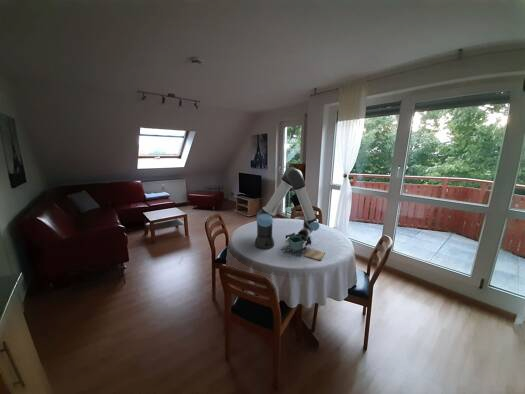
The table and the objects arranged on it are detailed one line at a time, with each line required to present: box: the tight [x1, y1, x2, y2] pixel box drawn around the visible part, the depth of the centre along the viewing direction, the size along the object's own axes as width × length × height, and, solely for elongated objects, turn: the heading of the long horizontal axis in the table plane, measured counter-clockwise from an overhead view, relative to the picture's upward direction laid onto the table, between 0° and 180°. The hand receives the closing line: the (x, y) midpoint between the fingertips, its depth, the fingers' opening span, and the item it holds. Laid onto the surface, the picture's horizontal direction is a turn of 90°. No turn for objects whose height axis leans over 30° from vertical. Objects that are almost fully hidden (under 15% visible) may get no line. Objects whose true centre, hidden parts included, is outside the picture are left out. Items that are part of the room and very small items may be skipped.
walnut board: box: [303, 247, 326, 262], centre depth 149 cm, size 12×12×1 cm
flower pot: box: [287, 236, 305, 253], centre depth 153 cm, size 9×9×9 cm
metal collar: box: [283, 244, 308, 258], centre depth 154 cm, size 13×13×2 cm
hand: (294, 244), depth 150 cm, fingers open, 13 cm apart
